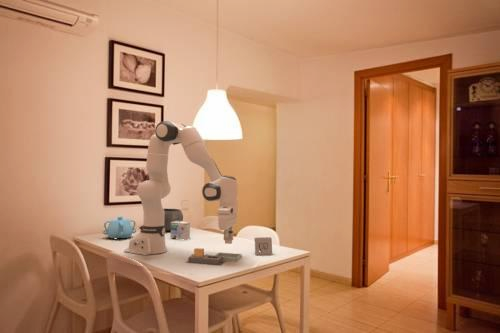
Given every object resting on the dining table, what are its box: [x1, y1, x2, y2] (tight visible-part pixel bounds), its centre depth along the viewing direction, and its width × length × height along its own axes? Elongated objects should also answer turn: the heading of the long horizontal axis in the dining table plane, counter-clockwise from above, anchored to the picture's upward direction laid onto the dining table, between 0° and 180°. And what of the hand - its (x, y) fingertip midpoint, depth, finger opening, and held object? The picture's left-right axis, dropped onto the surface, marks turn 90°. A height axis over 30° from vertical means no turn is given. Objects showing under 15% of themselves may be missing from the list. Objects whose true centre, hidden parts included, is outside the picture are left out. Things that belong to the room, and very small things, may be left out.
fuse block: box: [184, 253, 227, 267], centre depth 177 cm, size 18×8×4 cm, turn 77°
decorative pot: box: [102, 216, 137, 239], centre depth 237 cm, size 16×16×14 cm
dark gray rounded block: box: [163, 208, 184, 232], centre depth 266 cm, size 20×20×15 cm
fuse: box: [193, 247, 205, 257], centre depth 178 cm, size 4×2×6 cm, turn 77°
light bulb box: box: [169, 220, 191, 241], centre depth 238 cm, size 11×7×11 cm, turn 69°
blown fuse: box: [223, 230, 234, 245], centre depth 185 cm, size 4×2×6 cm, turn 77°
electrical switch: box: [254, 236, 273, 256], centre depth 200 cm, size 9×5×9 cm, turn 99°
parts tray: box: [214, 252, 243, 263], centre depth 185 cm, size 12×9×3 cm
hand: (228, 236), depth 185 cm, fingers closed on blown fuse, 2 cm apart
